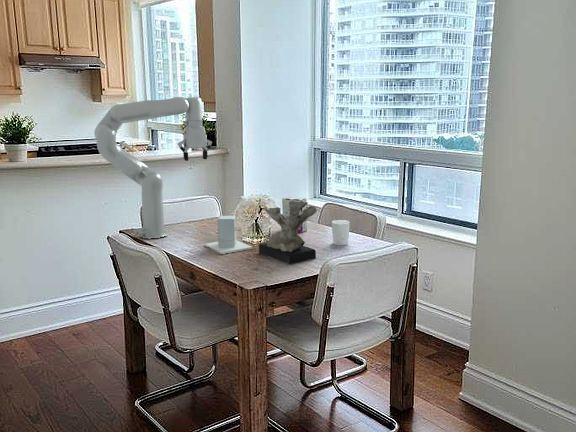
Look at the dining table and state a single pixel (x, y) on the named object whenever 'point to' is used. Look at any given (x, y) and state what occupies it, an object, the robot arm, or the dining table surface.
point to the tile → (224, 250)
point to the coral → (289, 235)
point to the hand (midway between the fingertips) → (195, 159)
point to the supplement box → (227, 231)
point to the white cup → (340, 232)
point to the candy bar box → (286, 211)
